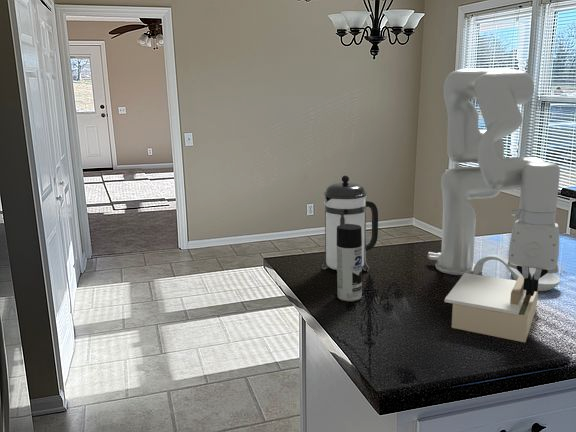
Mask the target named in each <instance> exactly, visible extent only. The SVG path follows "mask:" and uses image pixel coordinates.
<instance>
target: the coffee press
mask: <svg viewBox="0 0 576 432" xmlns="http://www.w3.org/2000/svg"><path fill="white" fill-rule="evenodd" d="M349 181H350V178H349V176H348V175H343V176H341V182H337V183H336V182H335V183H332V184H330V185H328V186H327V187H326V190H325V191H324V193H323V194H324V195H323V196H324V198H323V199H324V200H323V205H324V233H325V234H324V236H325V237H324V239H325V241H324V244H325V246H324V250H325V253H324V254H325V256H324V257H325V258H324V259H325V260H324V262H323V264H322V266H321V269H322V270H326V269H328V268H330V269H332V270H336V271H337V226H339V225H342V224H355V225H360V226H361V232H362V271H364V272H365V271H366V270H367V272H366V273H368V272H369V271H370V267H369V265H368V263H367V259H366V258H367V256H366V255H367V254H366V253H367V252H368V251H370V250H371V249H373V248H374V247H375V246H376V244H377V241H378V238H379V237H378V236H379V211H378V207H377V205H376V203H374V202H373V201H369V200H366V198H367V195H368V193H367V191H366V189H365V187H364V185H361V184H359V183H356V182H355V183H354V182H349ZM367 208H370V212H371V238H370V241H369V242H368V244H366V243H367ZM325 263H326V265H327V266H326V267H324V265H325ZM364 265H365V266H366V267H367V269H366V268H365V267H364Z"/></svg>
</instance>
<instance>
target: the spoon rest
mask: <svg viewBox="0 0 576 432" xmlns="http://www.w3.org/2000/svg"><path fill="white" fill-rule="evenodd" d="M508 257H509V256H506V255H503V254H498V253H493V254H488V255H485V256H484V257H482V258H480V259H478V260H477V261H476V263H475V266H474V269H473V274H475V275H480V274H481V273H482V272H483V267H484V264H485V263H486V262H487V261H491V260H495V261H498V262H500V263H502V264H503V265H504V266H505V267H506V268H507V270H508V271H509V272H510V274H511V275H512V277H513V279H514V280H516V281H517V279H518V277H519V276H520V277H523V275H522V274H521V273H520V272H519V271H518V270H517V269H514V268H511V267H509V266H507V264H508V261H509V260H508ZM529 270H530V274H531V276H533V274H535V271H536V268H530V267H529ZM561 281H562V280H561V278H560V277H559V276H558V275H557V274H556V273H550V274H549V273H547V274H545V275H544V276H542V277H541V278H539V282H538V292H544V291H545V292H547V291H550V290H553V289H554V288H556V287H558V285H559V284H561Z"/></svg>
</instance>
